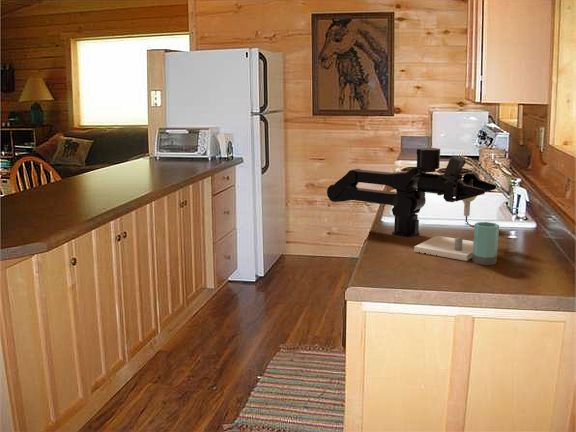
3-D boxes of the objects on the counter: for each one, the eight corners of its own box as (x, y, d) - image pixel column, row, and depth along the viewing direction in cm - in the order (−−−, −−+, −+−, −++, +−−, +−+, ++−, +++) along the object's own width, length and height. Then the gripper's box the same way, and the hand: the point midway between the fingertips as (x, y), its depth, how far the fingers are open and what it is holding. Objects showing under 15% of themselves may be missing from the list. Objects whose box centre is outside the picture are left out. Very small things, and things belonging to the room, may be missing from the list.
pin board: (414, 251, 171) (414, 234, 170) (436, 240, 183) (437, 224, 182) (466, 260, 162) (467, 242, 161) (486, 248, 174) (487, 231, 173)
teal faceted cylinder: (470, 262, 161) (472, 225, 159) (477, 257, 165) (480, 221, 163) (491, 266, 158) (494, 228, 155) (498, 261, 162) (501, 224, 160)
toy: (477, 227, 199) (480, 181, 196) (456, 226, 200) (458, 180, 197) (474, 221, 207) (477, 177, 204) (454, 220, 208) (457, 176, 205)
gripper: (425, 160, 172) (480, 164, 163) (451, 153, 187) (503, 157, 178) (423, 199, 175) (477, 205, 166) (449, 189, 189) (500, 195, 180)
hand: (490, 189), depth 172 cm, fingers open, 9 cm apart
